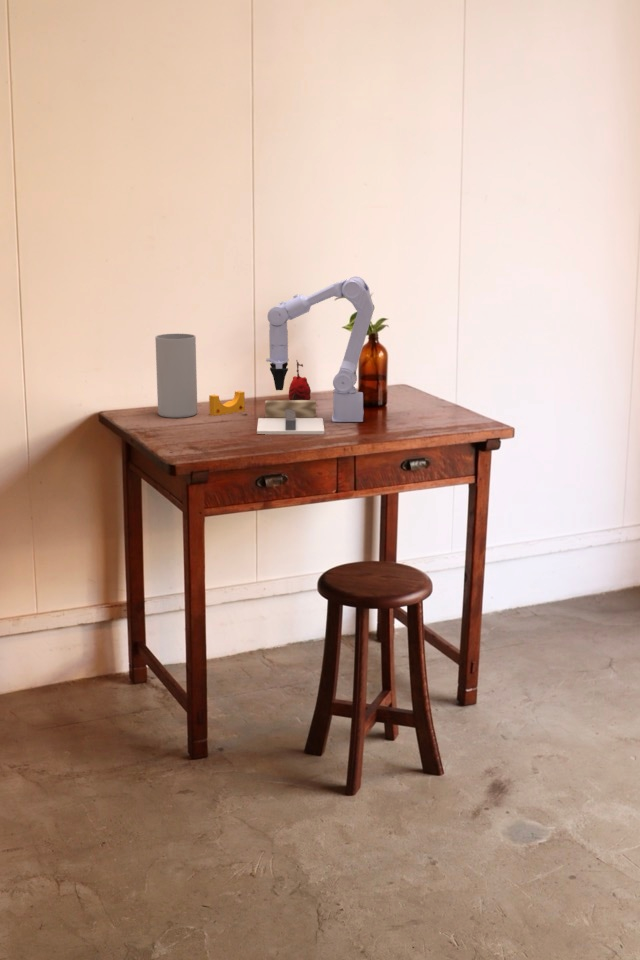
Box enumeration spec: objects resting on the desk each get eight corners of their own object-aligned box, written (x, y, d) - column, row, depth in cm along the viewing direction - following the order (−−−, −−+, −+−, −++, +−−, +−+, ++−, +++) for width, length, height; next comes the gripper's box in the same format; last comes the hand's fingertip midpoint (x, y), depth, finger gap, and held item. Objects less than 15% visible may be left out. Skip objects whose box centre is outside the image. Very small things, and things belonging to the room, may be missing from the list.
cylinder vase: (197, 409, 376) (195, 333, 370) (197, 418, 364) (195, 339, 358) (158, 410, 375) (155, 333, 368) (157, 418, 363) (155, 339, 356)
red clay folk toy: (313, 401, 390) (313, 357, 386) (305, 405, 383) (305, 360, 380) (293, 400, 393) (292, 356, 389) (284, 403, 386) (284, 359, 382)
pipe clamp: (236, 409, 378) (236, 389, 376) (244, 411, 375) (244, 392, 373) (206, 414, 371) (206, 394, 369) (214, 416, 367) (213, 396, 366)
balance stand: (322, 421, 360) (322, 408, 359) (324, 434, 343) (324, 421, 342) (258, 421, 360) (258, 408, 359) (256, 434, 342) (256, 421, 341)
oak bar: (315, 415, 370) (315, 400, 368) (315, 417, 366) (315, 402, 365) (265, 415, 369) (265, 400, 368) (265, 418, 366) (265, 402, 364)
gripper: (265, 341, 366) (266, 383, 370) (265, 348, 352) (266, 392, 356) (288, 341, 367) (288, 383, 370) (288, 348, 353) (289, 392, 356)
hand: (279, 387), depth 363 cm, fingers open, 7 cm apart
